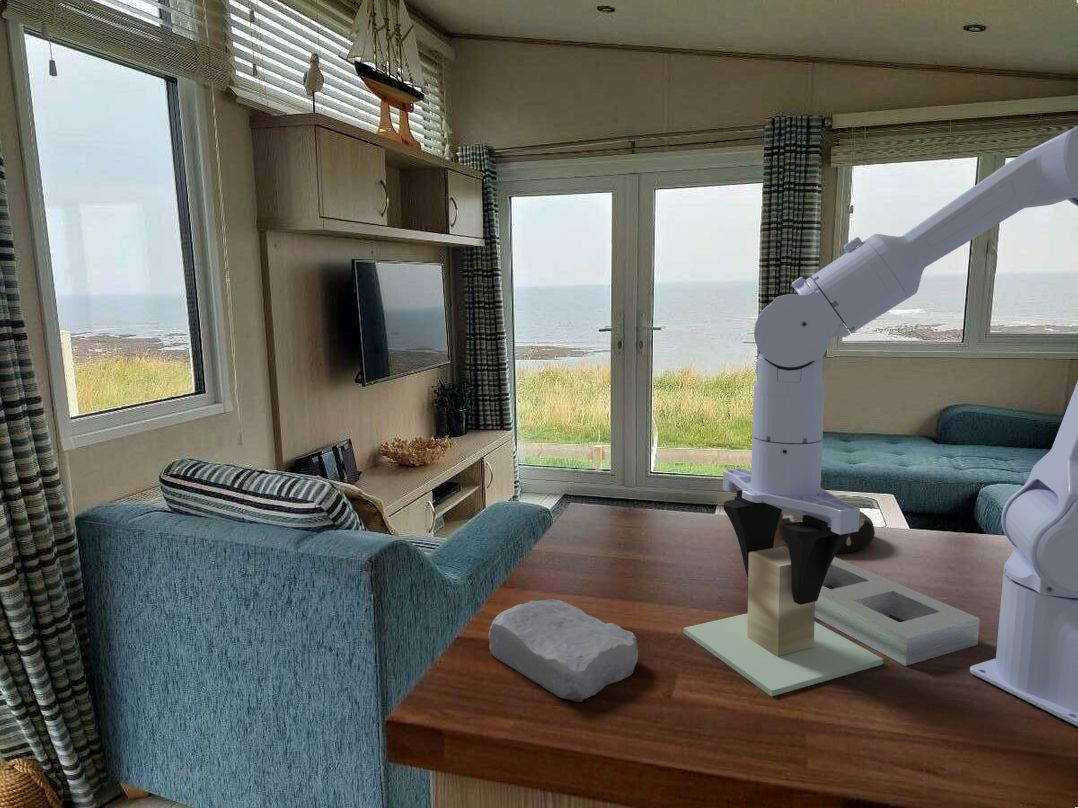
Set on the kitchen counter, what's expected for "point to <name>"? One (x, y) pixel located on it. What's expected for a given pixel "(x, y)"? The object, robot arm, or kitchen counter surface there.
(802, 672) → the mat
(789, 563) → the peg
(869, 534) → the donut
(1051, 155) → the robot arm
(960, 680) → the kitchen counter surface
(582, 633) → the stone block
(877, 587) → the rail
